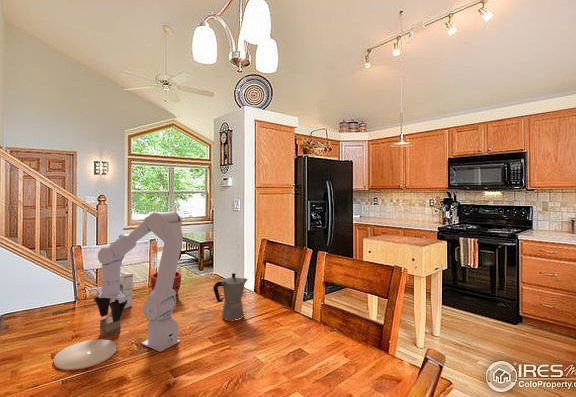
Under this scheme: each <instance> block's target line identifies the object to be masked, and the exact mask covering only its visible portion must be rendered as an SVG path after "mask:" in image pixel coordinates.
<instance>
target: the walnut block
mask: <svg viewBox="0 0 576 397" xmlns="http://www.w3.org/2000/svg"><path fill="white" fill-rule="evenodd" d="M121 322H122V320H121V318H120V320H119V321H117V322H113V319H112V316H109V317H106V318H104V319H101V320H99V335H100V336H102V337H105V338H107V339H108V338H110V337H113V336H116V335H119V334H120V333H121V326H122V325H121V324H122V323H121Z"/></svg>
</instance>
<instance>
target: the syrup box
mask: <svg viewBox="0 0 576 397" xmlns="http://www.w3.org/2000/svg"><path fill="white" fill-rule="evenodd" d="M133 278H134V273H131V272H126V271H122V272H121V271H120V291H121V293H122V294H123V295H124V296H126V300H127V304H126V305H125V307H124V309H127V308H129V307H132V306H133V292H134V291H133V288H134V287H133V285H134V282H133V281H134V279H133ZM112 302H115V300H113V299H112ZM124 309H123V310H124Z"/></svg>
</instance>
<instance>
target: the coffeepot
mask: <svg viewBox="0 0 576 397" xmlns="http://www.w3.org/2000/svg"><path fill="white" fill-rule="evenodd" d="M236 275H237V274H236V273H234V272H233V273H231V277H227V278H224V279H222V280H221V281H217V282H215V283H214V285H213V287H212V288H213V292H214V294H215V298H216V302H217V303H222V302H223V306H222V310H221V311H222V312H221V319H222V320H223V319H227V320H235V319H239V318H241V317H242V316H244V315H245V314H244V309H243V302H242V297H243V296H244V289H245V284H246V283H247V281H248V280H249V279H248V278H244V277H236ZM219 287H222V288H223V297H224V301H223V299H222V298H221V299H220V297H221V296H220V293H219V292H220V291H219V289H218V288H219ZM244 317H245V316H244Z"/></svg>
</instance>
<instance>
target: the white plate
mask: <svg viewBox="0 0 576 397" xmlns="http://www.w3.org/2000/svg"><path fill="white" fill-rule="evenodd" d="M116 352H117V344H116V343H115V342H114V341H112V340H111V339H105V338H104V339H98V338H97V339H89V340H84V341H80V342H77V343H74V344H71V345H69V346H67V347H64V348H63V349H62V350H60V351H59V352H57V353H56V354H55V356H54V357H53V366H55V368H58V369H60V370H63V371H75V370H81V369H87V368H90V367H93V366H96V365H99V364H102V363H105V361H107V360H109V359H110V358H112V356H113V355H114V354H115V353H116Z"/></svg>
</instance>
